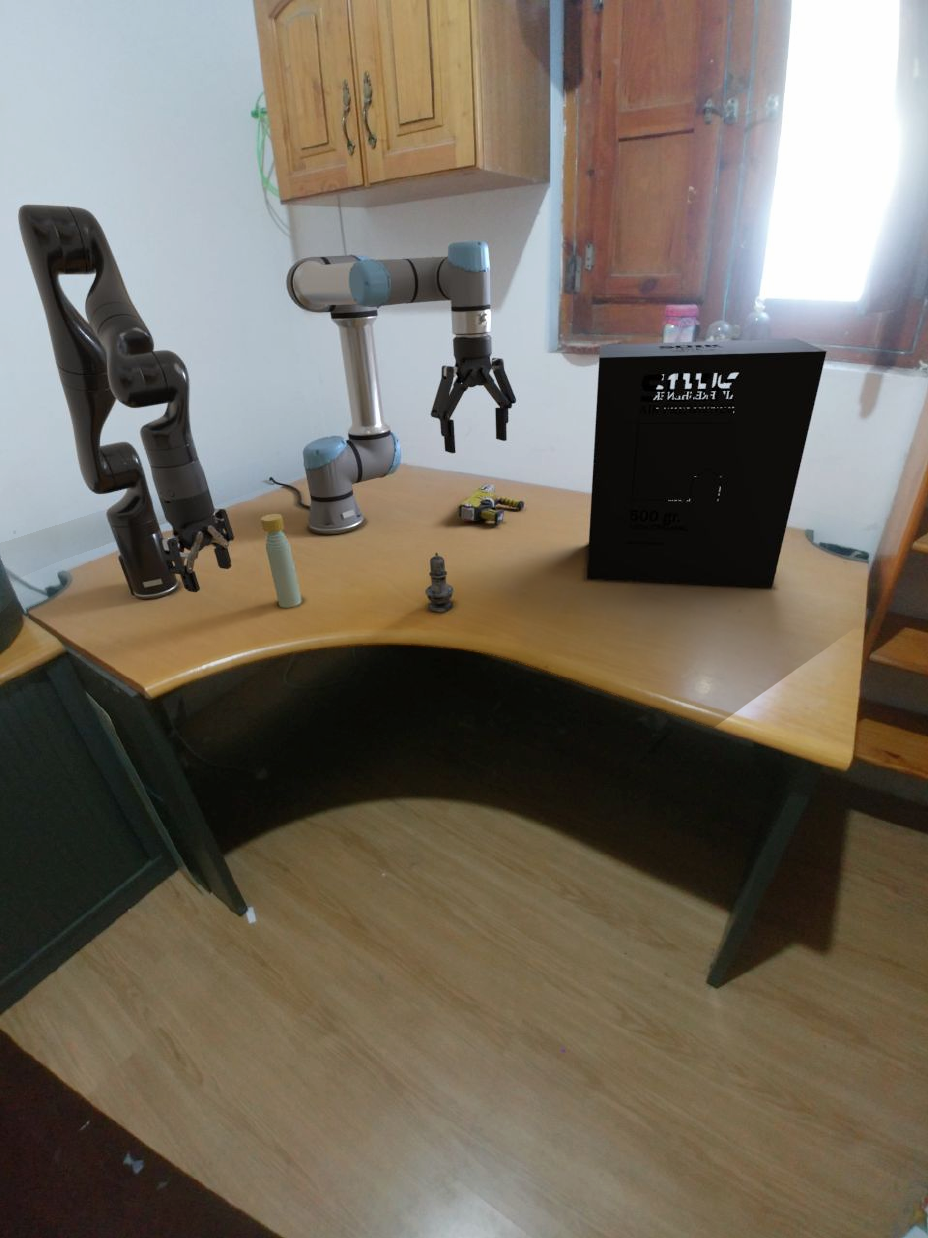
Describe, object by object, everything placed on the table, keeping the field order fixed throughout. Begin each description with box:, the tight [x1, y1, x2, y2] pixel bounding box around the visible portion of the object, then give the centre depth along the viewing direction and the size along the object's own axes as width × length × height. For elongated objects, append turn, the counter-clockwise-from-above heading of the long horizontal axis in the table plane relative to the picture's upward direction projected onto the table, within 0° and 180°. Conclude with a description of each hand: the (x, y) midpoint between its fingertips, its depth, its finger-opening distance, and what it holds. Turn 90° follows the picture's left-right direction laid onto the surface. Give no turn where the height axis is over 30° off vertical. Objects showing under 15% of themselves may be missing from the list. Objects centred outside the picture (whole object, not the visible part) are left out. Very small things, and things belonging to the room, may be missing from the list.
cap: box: [260, 513, 285, 533], centre depth 121 cm, size 4×4×2 cm
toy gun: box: [457, 482, 525, 525], centre depth 171 cm, size 5×24×15 cm
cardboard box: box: [586, 338, 828, 589], centre depth 126 cm, size 38×20×45 cm, turn 78°
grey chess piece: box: [424, 552, 455, 613], centre depth 122 cm, size 6×6×12 cm
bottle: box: [265, 529, 302, 609], centre depth 126 cm, size 5×5×19 cm
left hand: (210, 579), depth 104 cm, fingers open, 8 cm apart
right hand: (476, 445), depth 127 cm, fingers open, 13 cm apart
